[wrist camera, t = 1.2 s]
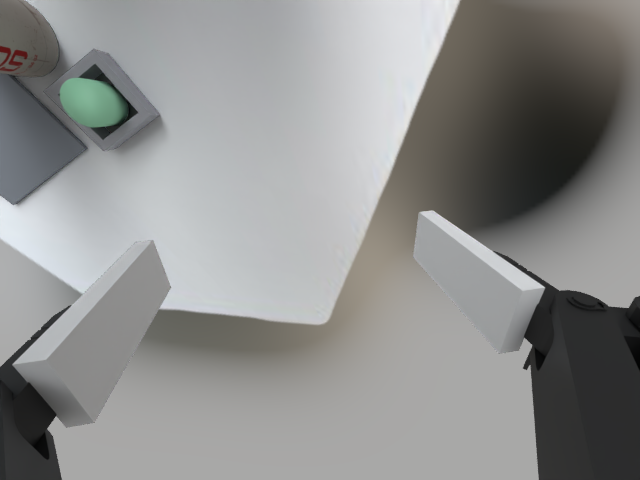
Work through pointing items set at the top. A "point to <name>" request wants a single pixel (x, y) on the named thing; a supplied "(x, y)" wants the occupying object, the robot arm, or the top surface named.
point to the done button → (93, 102)
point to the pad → (29, 141)
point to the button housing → (104, 63)
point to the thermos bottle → (25, 40)
